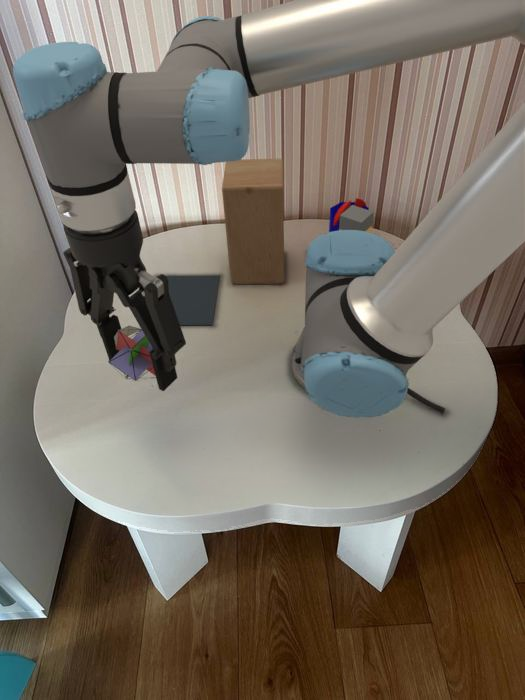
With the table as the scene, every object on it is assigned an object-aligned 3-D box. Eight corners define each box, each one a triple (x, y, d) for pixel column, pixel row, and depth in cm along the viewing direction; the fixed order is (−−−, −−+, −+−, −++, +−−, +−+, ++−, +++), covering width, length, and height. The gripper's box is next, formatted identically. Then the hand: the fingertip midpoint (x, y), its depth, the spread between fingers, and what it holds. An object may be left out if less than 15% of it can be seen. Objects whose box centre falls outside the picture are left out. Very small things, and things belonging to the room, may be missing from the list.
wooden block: (284, 284, 105) (283, 185, 91) (230, 285, 105) (221, 187, 91) (284, 253, 112) (283, 157, 98) (233, 254, 112) (225, 158, 98)
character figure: (368, 286, 103) (379, 198, 91) (375, 324, 96) (388, 234, 83) (326, 287, 104) (331, 199, 91) (329, 325, 96) (335, 235, 84)
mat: (212, 325, 97) (212, 324, 97) (143, 325, 98) (143, 324, 98) (219, 276, 107) (219, 275, 107) (157, 276, 108) (157, 275, 108)
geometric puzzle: (189, 356, 72) (150, 307, 69) (157, 392, 68) (114, 341, 65) (159, 365, 77) (121, 319, 74) (127, 399, 73) (86, 352, 70)
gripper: (4, 206, 59) (67, 358, 75) (150, 266, 51) (186, 423, 67) (59, 176, 64) (107, 326, 80) (202, 226, 55) (224, 383, 71)
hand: (143, 370), depth 73 cm, fingers closed on geometric puzzle, 8 cm apart
